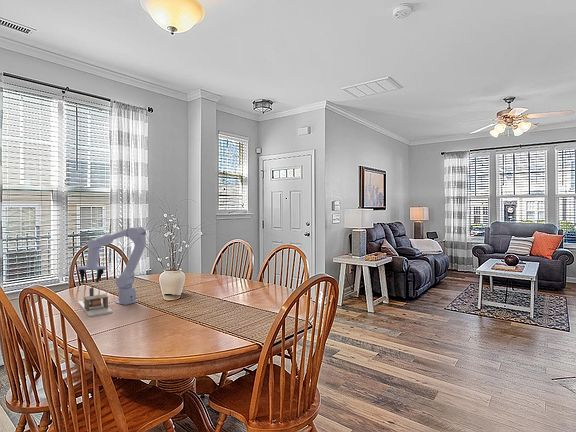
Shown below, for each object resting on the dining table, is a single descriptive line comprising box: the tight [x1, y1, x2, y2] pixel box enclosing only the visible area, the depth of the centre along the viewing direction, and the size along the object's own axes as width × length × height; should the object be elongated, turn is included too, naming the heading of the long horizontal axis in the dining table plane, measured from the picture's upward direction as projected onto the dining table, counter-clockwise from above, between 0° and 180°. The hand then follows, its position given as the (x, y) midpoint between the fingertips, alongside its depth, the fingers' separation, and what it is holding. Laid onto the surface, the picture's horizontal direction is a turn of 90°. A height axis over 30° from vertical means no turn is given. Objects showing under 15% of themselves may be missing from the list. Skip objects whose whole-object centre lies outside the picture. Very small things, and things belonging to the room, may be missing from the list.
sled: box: [88, 287, 104, 310], centre depth 197 cm, size 16×6×8 cm, turn 39°
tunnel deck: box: [77, 293, 113, 318], centre depth 197 cm, size 32×11×7 cm, turn 39°
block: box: [91, 299, 102, 307], centre depth 193 cm, size 4×4×4 cm
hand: (89, 282), depth 209 cm, fingers open, 7 cm apart
